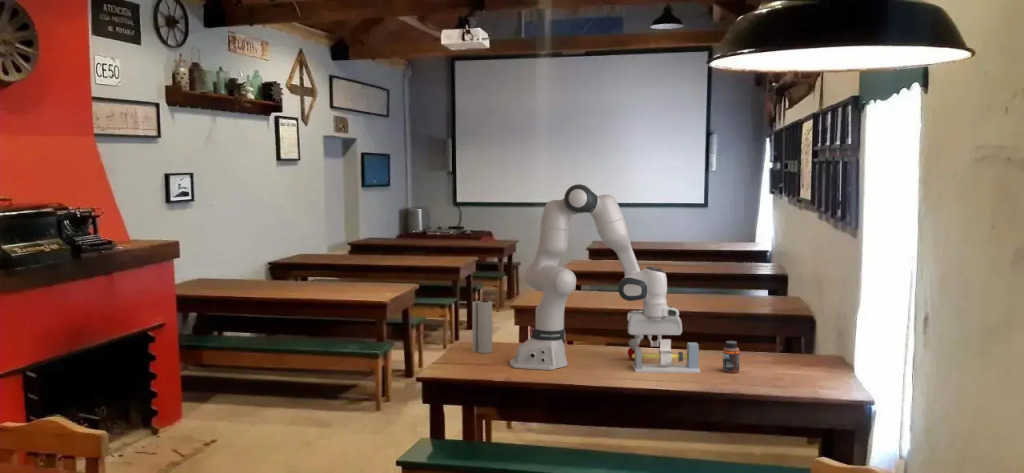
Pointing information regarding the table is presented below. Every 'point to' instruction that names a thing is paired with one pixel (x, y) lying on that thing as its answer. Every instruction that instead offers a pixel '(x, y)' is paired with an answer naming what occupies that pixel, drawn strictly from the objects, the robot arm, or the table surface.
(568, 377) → the table surface
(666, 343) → the marker sleeve
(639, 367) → the cord rig
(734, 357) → the supplement bottle
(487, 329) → the grey grooved column
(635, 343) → the molecular model
